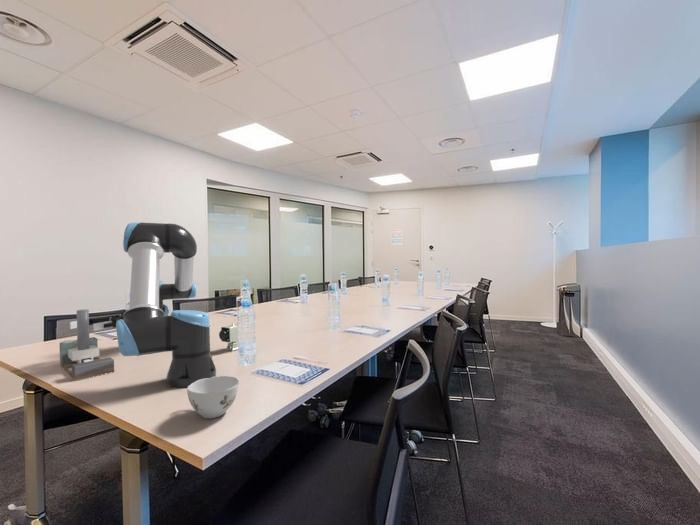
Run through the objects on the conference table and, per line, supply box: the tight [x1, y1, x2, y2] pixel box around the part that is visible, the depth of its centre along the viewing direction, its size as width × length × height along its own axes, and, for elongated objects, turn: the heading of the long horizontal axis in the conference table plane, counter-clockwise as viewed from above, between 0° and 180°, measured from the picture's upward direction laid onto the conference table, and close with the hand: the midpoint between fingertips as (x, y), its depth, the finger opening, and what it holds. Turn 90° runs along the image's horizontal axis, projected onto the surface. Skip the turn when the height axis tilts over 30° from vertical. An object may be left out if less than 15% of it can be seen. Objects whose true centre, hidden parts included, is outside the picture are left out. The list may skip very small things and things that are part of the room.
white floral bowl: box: [186, 375, 240, 419], centre depth 86 cm, size 15×12×8 cm
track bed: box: [59, 336, 115, 382], centre depth 123 cm, size 27×11×9 cm, turn 50°
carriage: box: [68, 308, 100, 364], centre depth 125 cm, size 8×8×20 cm
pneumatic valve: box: [218, 322, 239, 352], centre depth 146 cm, size 6×12×12 cm, turn 150°
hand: (81, 326), depth 125 cm, fingers open, 13 cm apart
